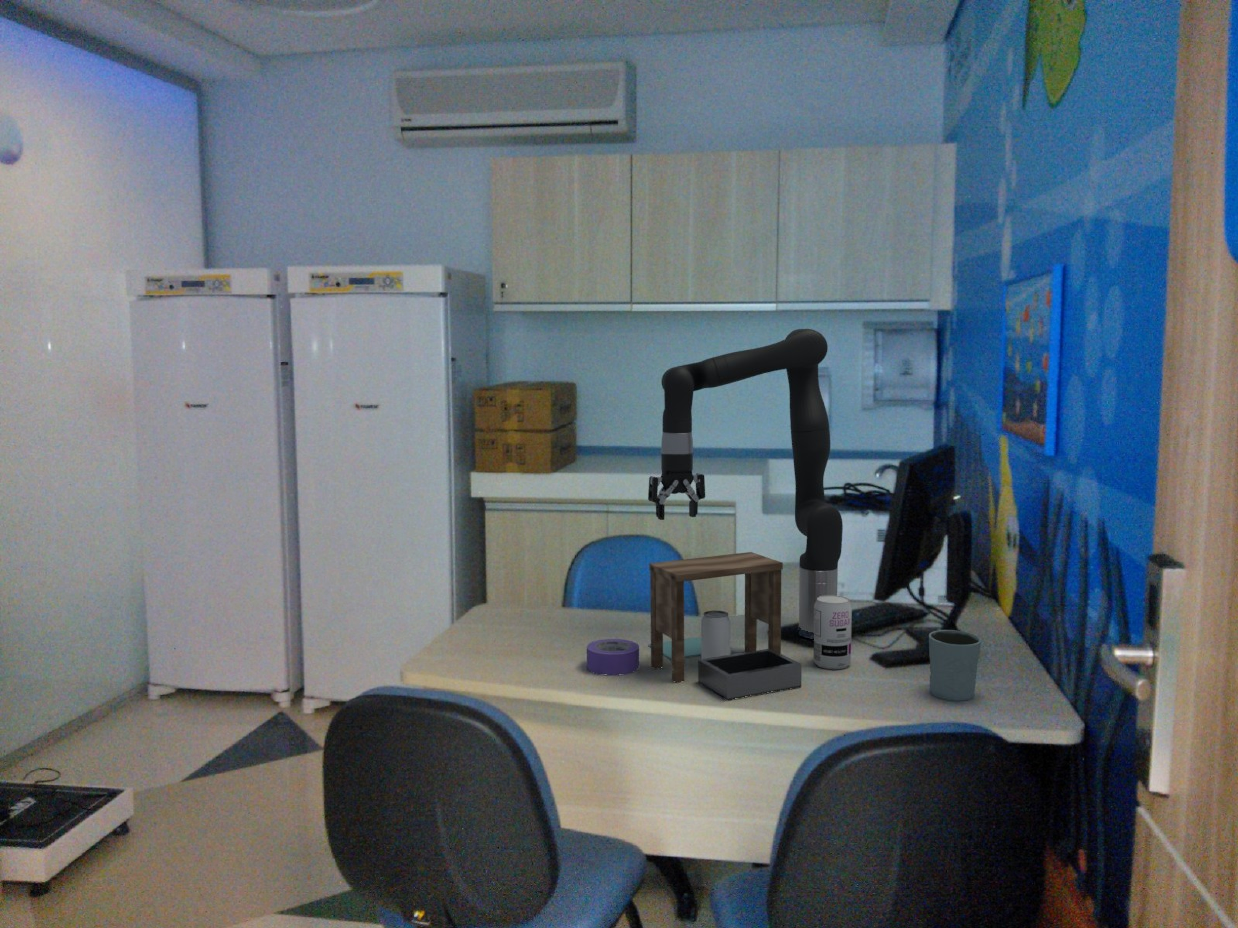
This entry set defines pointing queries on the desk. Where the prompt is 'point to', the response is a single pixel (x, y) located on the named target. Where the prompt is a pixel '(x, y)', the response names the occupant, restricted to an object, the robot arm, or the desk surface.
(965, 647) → the grey green cup
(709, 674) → the box
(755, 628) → the small wooden table
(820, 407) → the robot arm
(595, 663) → the tape roll
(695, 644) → the pad
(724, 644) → the can
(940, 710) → the desk surface
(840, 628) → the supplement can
